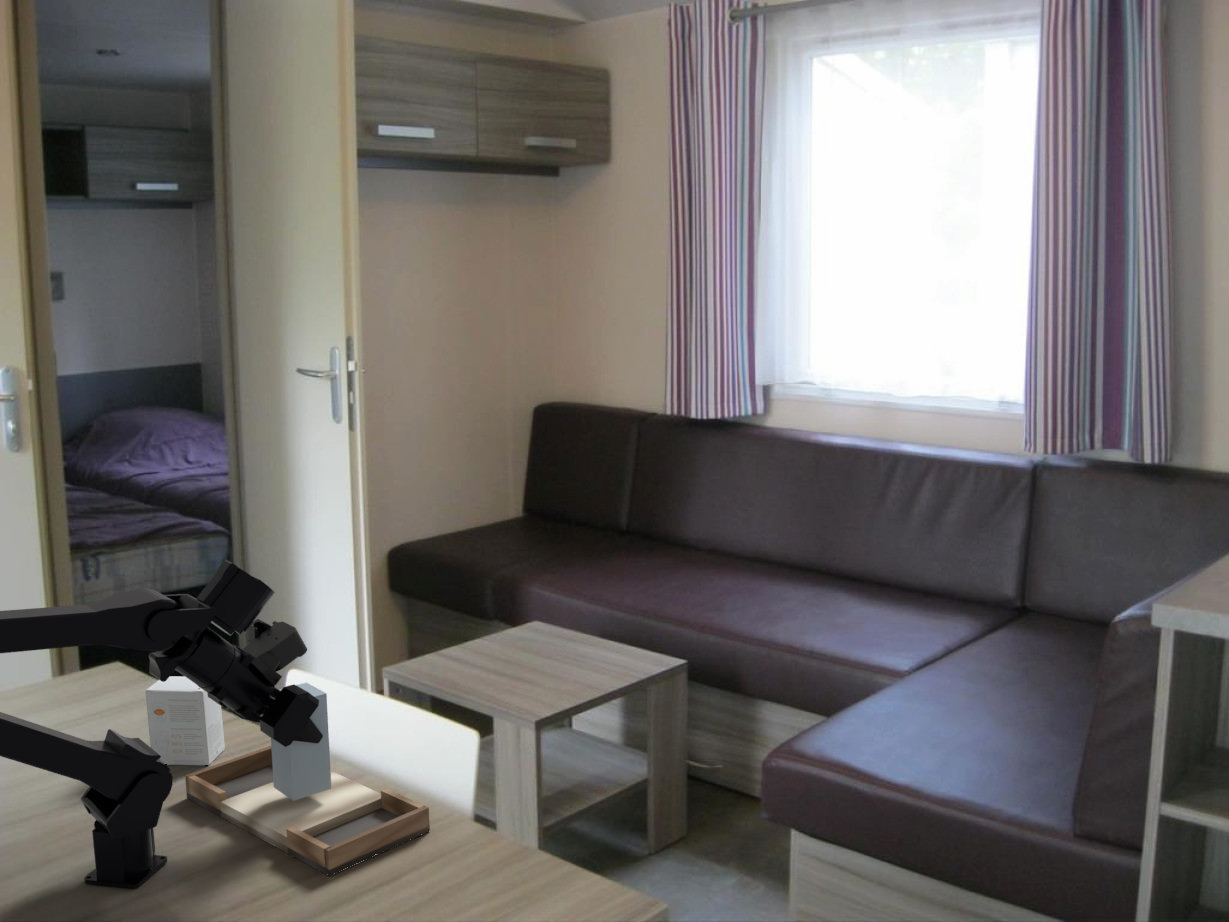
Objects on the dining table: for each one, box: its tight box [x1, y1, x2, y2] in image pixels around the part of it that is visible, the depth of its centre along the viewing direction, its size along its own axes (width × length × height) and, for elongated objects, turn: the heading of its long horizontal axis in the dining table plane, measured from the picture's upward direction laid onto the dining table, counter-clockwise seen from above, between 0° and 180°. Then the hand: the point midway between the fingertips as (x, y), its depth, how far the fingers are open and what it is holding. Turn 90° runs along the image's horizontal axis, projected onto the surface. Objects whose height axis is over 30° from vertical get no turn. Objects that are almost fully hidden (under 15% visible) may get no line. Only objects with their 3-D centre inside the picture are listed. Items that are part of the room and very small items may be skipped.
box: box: [184, 745, 431, 877], centre depth 157 cm, size 30×14×3 cm, turn 48°
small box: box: [144, 675, 226, 766], centre depth 173 cm, size 8×6×10 cm
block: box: [270, 682, 332, 801], centre depth 155 cm, size 5×5×12 cm
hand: (309, 733), depth 156 cm, fingers closed on block, 5 cm apart
